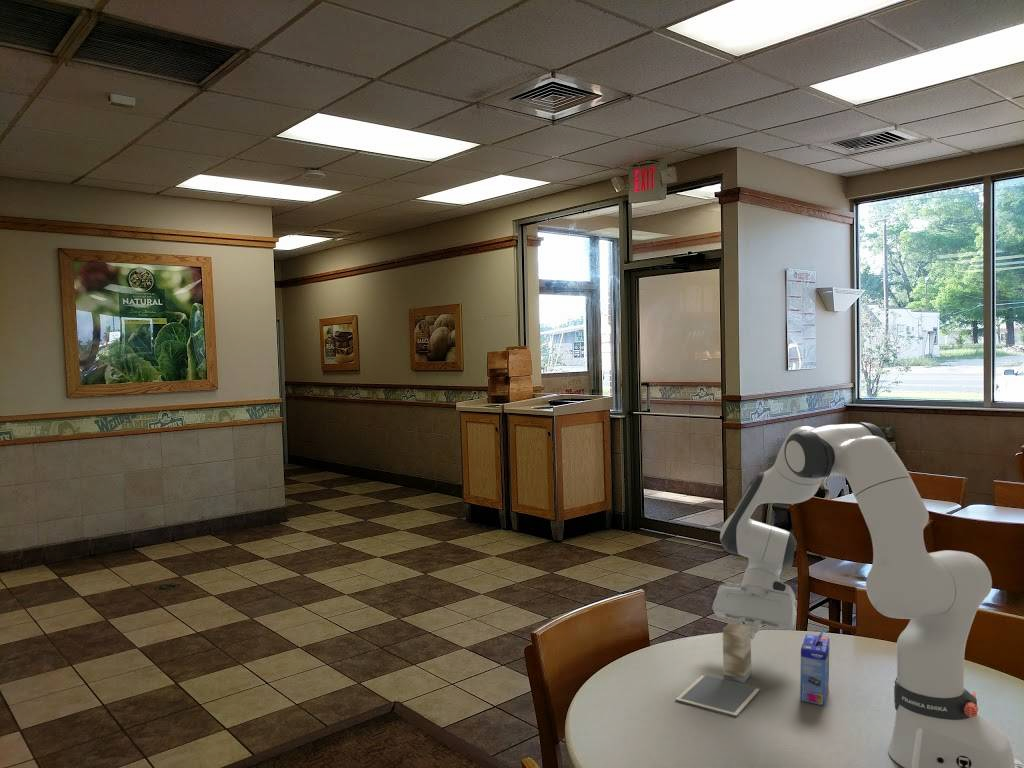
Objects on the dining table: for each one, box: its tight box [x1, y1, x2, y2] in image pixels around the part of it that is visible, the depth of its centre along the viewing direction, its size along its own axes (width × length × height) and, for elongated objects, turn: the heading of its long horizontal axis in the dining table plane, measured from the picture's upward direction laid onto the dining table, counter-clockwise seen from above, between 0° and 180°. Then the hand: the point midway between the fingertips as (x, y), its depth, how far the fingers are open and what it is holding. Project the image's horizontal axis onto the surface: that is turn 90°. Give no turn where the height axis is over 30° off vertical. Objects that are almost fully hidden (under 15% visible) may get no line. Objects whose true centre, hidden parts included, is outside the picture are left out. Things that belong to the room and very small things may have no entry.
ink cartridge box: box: [799, 630, 830, 706], centre depth 169 cm, size 10×6×14 cm, turn 152°
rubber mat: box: [674, 674, 762, 718], centre depth 170 cm, size 14×16×1 cm
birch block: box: [722, 622, 752, 684], centre depth 180 cm, size 5×5×12 cm
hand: (746, 637), depth 185 cm, fingers closed
